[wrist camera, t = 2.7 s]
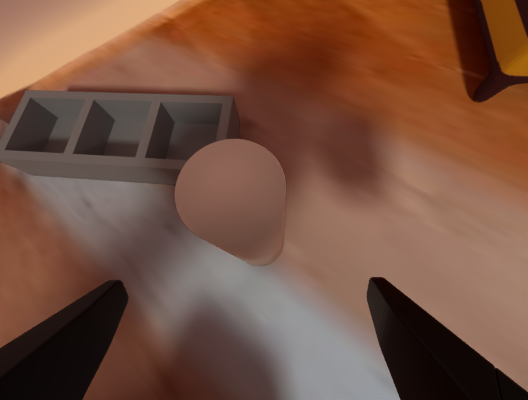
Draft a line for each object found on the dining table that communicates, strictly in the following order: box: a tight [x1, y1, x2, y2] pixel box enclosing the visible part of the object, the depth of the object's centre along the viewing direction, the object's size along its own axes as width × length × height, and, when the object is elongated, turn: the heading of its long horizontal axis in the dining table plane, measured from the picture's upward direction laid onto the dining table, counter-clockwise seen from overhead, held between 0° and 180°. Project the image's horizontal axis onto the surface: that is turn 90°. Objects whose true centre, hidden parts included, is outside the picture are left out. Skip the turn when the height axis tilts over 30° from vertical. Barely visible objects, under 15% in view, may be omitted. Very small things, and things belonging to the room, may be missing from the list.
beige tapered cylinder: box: [175, 139, 286, 266], centre depth 14 cm, size 4×4×12 cm
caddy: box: [0, 90, 240, 185], centre depth 22 cm, size 20×7×4 cm, turn 84°
